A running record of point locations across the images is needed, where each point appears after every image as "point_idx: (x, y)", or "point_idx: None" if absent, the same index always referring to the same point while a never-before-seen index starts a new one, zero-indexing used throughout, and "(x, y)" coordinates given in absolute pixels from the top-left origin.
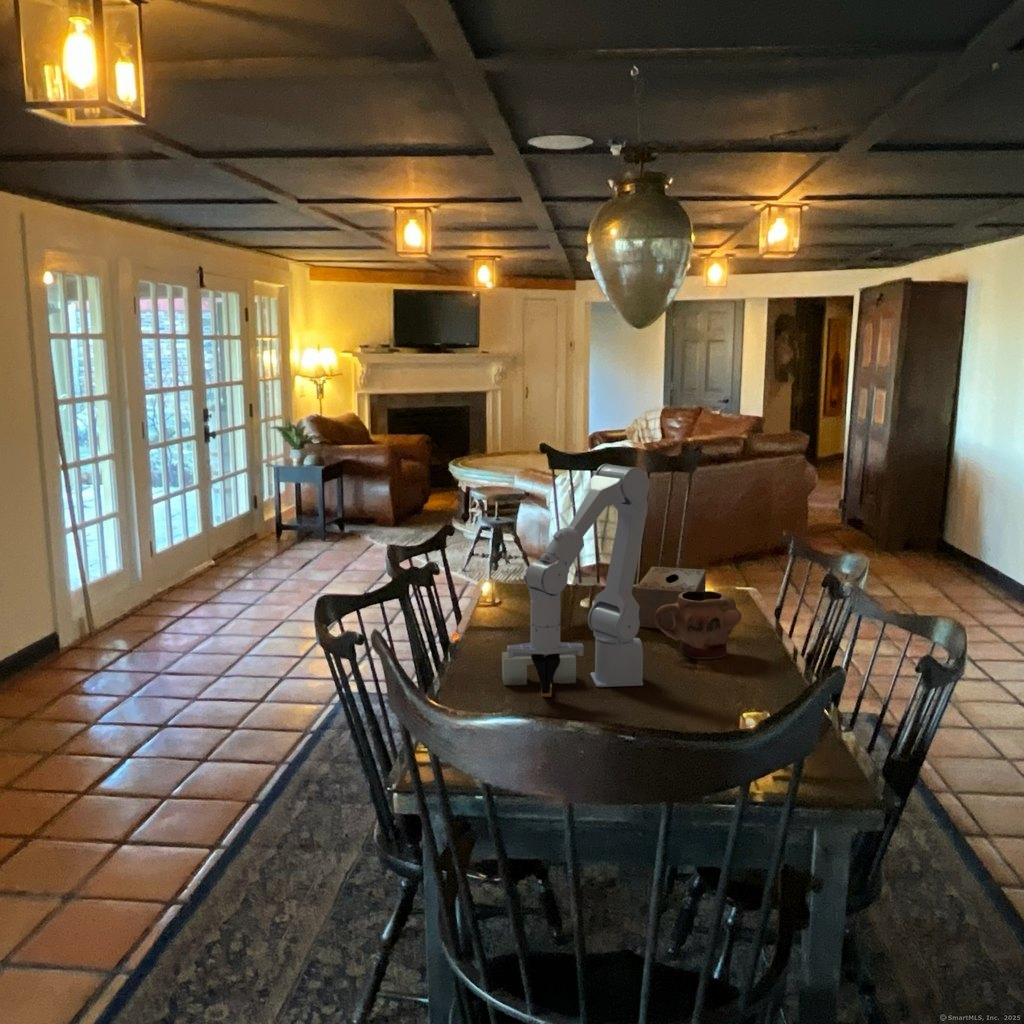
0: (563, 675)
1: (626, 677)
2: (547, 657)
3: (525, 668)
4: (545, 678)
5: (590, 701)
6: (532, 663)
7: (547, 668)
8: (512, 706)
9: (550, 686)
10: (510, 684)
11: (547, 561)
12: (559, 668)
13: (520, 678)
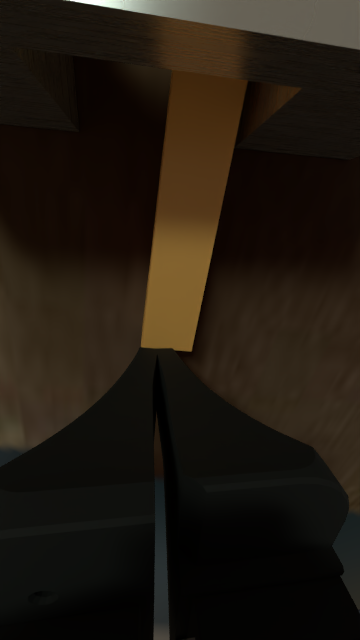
0: (315, 140)
1: None
2: (185, 632)
3: (18, 69)
4: (161, 396)
5: (304, 381)
6: (77, 51)
7: (167, 540)
8: (22, 407)
9: (187, 345)
10: None
11: None
12: (324, 117)
13: (17, 109)
